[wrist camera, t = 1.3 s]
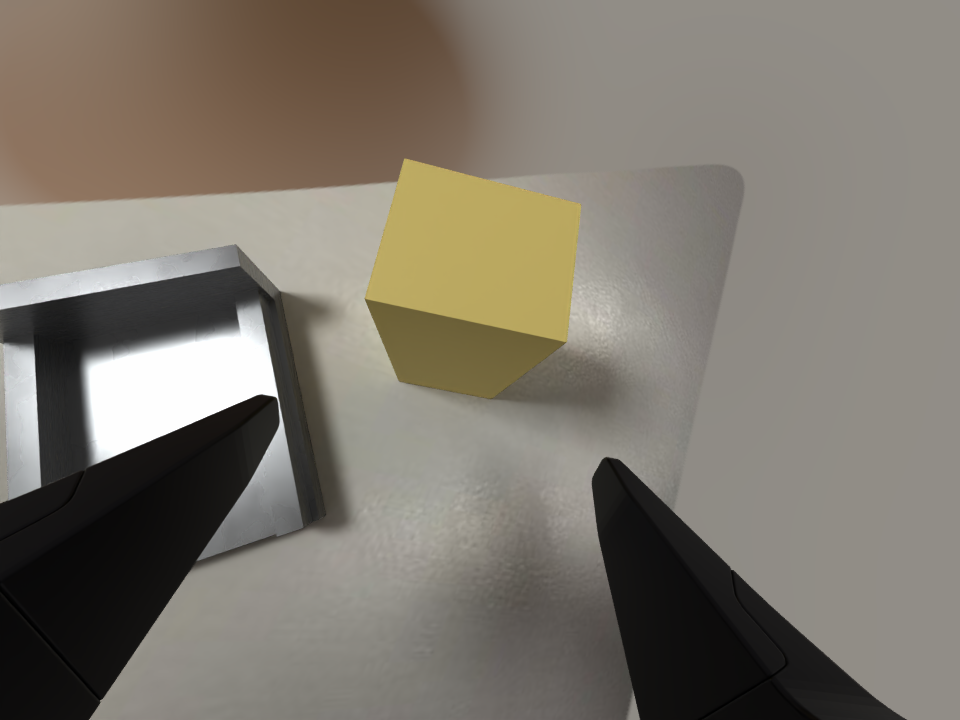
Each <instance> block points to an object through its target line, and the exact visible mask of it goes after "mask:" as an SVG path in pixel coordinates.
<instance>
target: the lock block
mask: <svg viewBox="0 0 960 720" xmlns="http://www.w3.org/2000/svg"><path fill="white" fill-rule="evenodd" d="M580 211H581V204H579V203H575V202H571V201H567V200H563V199H559V198H555V197H552V196H548V195H544V194H540V193H536V192H532V191H528V190H525V189H521V188H517V187H513V186H509V185H505V184H501V183H497V182H494V181H490V180H486V179H482V178H478V177H474V176H470V175H466V174H463V173H458V172H455V171H451V170H447V169H443V168H439V167H435V166H432V165H428V164H423V163H420V162H416V161H412V160H408V159H404V162H403V166H402V169H401V173H400V176H399V180H398V183H397V187H396V190H395V194H394V197H393V201H392V204H391V208H390V211H389V215H388V218H387V222H386V225H385V229H384V232H383V236H382V239H381V243H380V246H379V250H378V254H377V257H376V261H375V264H374V268H373V271H372V275H371V278H370V282H369V285H368V289H367V292H366V296H365V301H366V303H367V306H368V308H369V310H370V313H371V315H372V318H373V320H374V322H375V325H376V327H377V330H378V332H379V335H380V337H381V339H382V342H383V344H384V347H385V349H386V351H387V354H388V356H389V359H390V361H391V363H392V366H393V368H394V371H395V373H396V375H397V378H398V380H399V381H400V382H405V383H410V384H415V385H420V386H426V387H431V388H436V389H441V390H446V391H452V392H457V393H462V394H467V395H472V396H477V397H483V398H488V399H492V398H494V397H495V396H496V395H498V394H499V393H500V392H502V391H503V390H504V389H506V388H507V387H508V386H510V385H511V384H512V383H513V382H515V381H516V380H517V379H519V378H520V377H521V376H523V375H524V374H525V373H527V372H528V371H529V370H531V369H532V368H533V367H535V366H536V365H537V364H539V363H540V362H541V361H543V360H544V359H545V358H547V357H548V356H549V355H550V354H552V353H553V352H554V351H556V350H557V349H558V348H560V347H561V346H562V345H564V344H565V343H566V342H567V335H568V325H569V316H570V306H571V297H572V287H573V278H574V268H575V259H576V249H577V240H578V230H579V221H580Z"/></svg>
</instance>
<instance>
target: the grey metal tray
mask: <svg viewBox="0 0 960 720" xmlns="http://www.w3.org/2000/svg"><path fill="white" fill-rule="evenodd" d="M0 343H2V344H3V347H4V380H5V412H6V445H7V477H8V500H11V499H13V498H16V497H18V496H21V495H23V494H25V493H28V492H30V491H33V490H35V489H38V488H40V487H42V486H45V485H47V484H50V483H52V482H55V481H57V480H59V479H62V478H64V477H66V476H69V475H71V474H73V473H76V472H78V471H80V470H84V471H85V470H86V468H88V467H90V466H92V465H95V464H97V463H99V462H102V461H104V460H106V459H109V458H111V457H113V456H116V455H118V454H120V453H123V452H125V451H127V450H130V449H132V448H134V447H137V446H139V445H141V444H144V443H146V442H148V441H151V440H153V439H155V438H158V437H160V436H162V435H165V434H167V433H169V432H172V431H174V430H176V429H179V428H181V427H183V426H186V425H188V424H190V423H193V422H195V421H197V420H200V419H202V418H204V417H207V416H209V415H211V414H214V413H216V412H218V411H221V410H223V409H225V408H228V407H230V406H232V405H235V404H237V403H239V402H242V401H244V400H246V399H249V398H251V397H253V396H256V395H259V394H264V395H269V396H274V397H276V398H277V399H278V405H279V417H280V424H279V427H278V430H277V432H276V434H275V436H274V438H273V439H272V441H271V443H270V445H269V447H268V449H267V451H266V453H265V455H264V456H263V458H262V460H261V462H260V464H259V466H258V468H257V470H256V472H255V473H254V475H253V477H252V479H251V481H250V482H249V484H248V485H247V487H246V488H245V490H244V492H243V493H242V494H241V496H240V497H239V499H238V500H237V502H236V503H235V505H234V506H233V508H232V509H231V511H230V512H229V514H228V515H227V517H226V518H225V520H224V521H223V522H222V524H221V525H220V527H219V528H218V530H217V531H216V533H215V534H214V536H213V537H212V539H211V540H210V542H209V543H208V545H207V546H206V548H205V549H204V550H203V552H202V553H201V555H200V556H199V558H198V559H197V561H199V560H201V559H204V558H207V557H210V556H213V555H216V554H219V553H222V552H225V551H228V550H231V549H234V548H237V547H240V546H243V545H246V544H248V543H251V542H254V541H257V540H260V539H263V538H266V537H269V536H272V535H275V534H276V535H277V537H278V536H281V535H284V534H287V533H290V532H292V531H295V530H298V529H301V528H304V527H305V526H307V525H308V524H310V523H312V522H313V521H316V520H319V519H321V518H322V517H324V516H325V515H326V514H325V509H324V504H323V499H322V495H321V490H320V485H319V480H318V475H317V470H316V465H315V461H314V456H313V451H312V446H311V441H310V436H309V432H308V427H307V422H306V417H305V412H304V407H303V402H302V398H301V393H300V388H299V383H298V378H297V373H296V368H295V364H294V359H293V354H292V349H291V344H290V339H289V335H288V330H287V325H286V320H285V315H284V310H283V305H282V301H281V296H280V291H279V290H278V289H277V288H276V287H275V285H274V284H273V283H272V282H271V281H270V280H269V279H268V278H267V277H266V276H265V275H264V274H263V273H262V272H261V271H260V269H259V268H258V267H257V266H256V265H255V264H254V263H253V262H252V261H251V260H250V259H249V258H248V257H247V256H246V255H245V253H244V252H243V251H242V250H241V249H240V248H239V247H238V246H237V245H230V246H224V247H218V248H212V249H207V250H201V251H195V252H189V253H183V254H177V255H171V256H165V257H159V258H154V259H148V260H142V261H136V262H130V263H124V264H118V265H112V266H107V267H101V268H95V269H89V270H83V271H77V272H71V273H65V274H59V275H54V276H48V277H42V278H36V279H30V280H24V281H18V282H12V283H6V284H1V285H0Z"/></svg>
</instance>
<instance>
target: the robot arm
mask: <svg viewBox="0 0 960 720" xmlns="http://www.w3.org/2000/svg"><path fill="white" fill-rule="evenodd" d="M279 424H280V417H279V405H278V399H277V398H276V397H274V396H269V395H264V394H259V395H256V396H253V397H251V398H249V399H246V400H244V401H242V402H239V403H237V404H235V405H232V406H230V407H228V408H225V409H223V410H221V411H218V412H216V413H214V414H211V415H209V416H207V417H204V418H202V419H200V420H197V421H195V422H193V423H190V424H188V425H186V426H183V427H181V428H179V429H176V430H174V431H172V432H169V433H167V434H165V435H162V436H160V437H158V438H155V439H153V440H151V441H148V442H146V443H144V444H141V445H139V446H137V447H134V448H132V449H130V450H127V451H125V452H123V453H120V454H118V455H116V456H113V457H111V458H109V459H106V460H104V461H102V462H99V463H97V464H95V465H92V466H90V467H88V468H86V470H85V471H84V470H80V471H78V472H76V473H73V474H71V475H69V476H66V477H64V478H62V479H59V480H57V481H55V482H52V483H50V484H47V485H45V486H42V487H40V488H38V489H35V490H33V491H30V492H28V493H25V494H23V495H21V496H18V497H16V498H13V499H11V500H8V501H5V502H3V503H0V720H89V719H90V718H91V716H92V715H93V713H94V712H95V710H96V709H97V707H98V706H99V704H100V700H102V699H103V698H104V696H105V695H106V693H107V692H108V691H109V689H110V688H111V686H112V685H113V683H114V682H115V680H116V679H117V677H118V676H119V674H120V673H121V671H122V670H123V668H124V667H125V665H126V664H127V663H128V661H129V660H130V658H131V657H132V655H133V654H134V652H135V651H136V649H137V648H138V646H139V645H140V643H141V642H142V640H143V639H144V637H145V636H146V634H147V633H148V632H149V630H150V629H151V627H152V626H153V624H154V623H155V621H156V620H157V618H158V617H159V615H160V614H161V612H162V611H163V609H164V608H165V606H166V605H167V604H168V602H169V601H170V599H171V598H172V596H173V595H174V593H175V592H176V590H177V589H178V587H179V586H180V584H181V583H182V581H183V580H184V578H185V577H186V576H187V574H188V573H189V571H190V570H191V568H192V567H193V565H194V564H195V562H196V561H197V559H198V558H199V556H200V555H201V553H202V552H203V550H204V549H205V548H206V546H207V545H208V543H209V542H210V540H211V539H212V537H213V536H214V534H215V533H216V531H217V530H218V528H219V527H220V525H221V524H222V522H223V521H224V520H225V518H226V517H227V515H228V514H229V512H230V511H231V509H232V508H233V506H234V505H235V503H236V502H237V500H238V499H239V497H240V496H241V494H242V493H243V492H244V490H245V488H246V487H247V485H248V484H249V482H250V481H251V479H252V477H253V475H254V473H255V472H256V470H257V468H258V466H259V464H260V462H261V460H262V458H263V456H264V455H265V453H266V451H267V449H268V447H269V445H270V443H271V441H272V439H273V438H274V436H275V434H276V432H277V430H278V427H279ZM592 490H593V499H594V507H595V515H596V523H597V531H598V537H599V542H600V547H601V551H602V555H603V560H604V564H605V568H606V573H607V577H608V582H609V586H610V590H611V595H612V599H613V603H614V608H615V612H616V617H617V621H618V625H619V630H620V634H621V638H622V643H623V647H624V651H625V656H626V660H627V665H628V669H629V673H630V678H631V682H632V686H633V691H634V695H635V699H636V704H637V708H638V712H639V717H640V720H906V719H905V718H903V717H901V716H900V715H898V714H897V713H895V712H893V711H892V710H891V709H889V708H888V707H887V706H885V705H884V704H883V703H881V702H880V701H879V700H877V699H876V698H874V697H873V696H872V695H871V694H870V693H869V692H867V691H866V690H865V689H864V688H863V687H862V686H860V685H859V684H858V683H857V682H856V681H855V680H854V679H852V678H851V677H850V676H849V675H848V674H847V673H846V672H844V671H843V670H842V669H841V668H840V667H839V666H838V665H837V664H835V663H834V662H833V661H832V660H831V659H830V658H829V657H827V656H826V655H825V654H824V653H823V652H822V651H821V650H819V649H818V648H817V647H816V646H815V645H814V644H813V643H812V642H810V641H809V640H808V639H807V638H806V637H805V636H804V635H803V634H801V633H800V632H799V631H798V630H797V629H796V628H795V627H793V626H792V625H791V624H790V623H789V622H788V621H787V620H786V619H785V618H784V617H782V616H781V615H780V614H779V613H778V612H777V611H776V610H775V609H774V608H772V607H771V606H770V605H769V604H768V603H767V602H766V601H765V600H764V599H763V598H762V597H761V596H760V595H759V594H757V592H755V591H754V590H753V589H752V588H751V587H750V586H749V585H748V584H747V583H746V582H745V581H744V580H743V579H742V578H741V577H740V576H739V575H738V574H737V573H736V572H735V571H734V570H731V568H730V566H728V565H727V564H726V563H725V562H724V561H723V560H722V559H721V558H720V557H719V556H718V555H717V554H716V553H715V552H714V551H713V550H712V549H711V548H710V547H709V546H708V545H707V544H706V543H705V542H704V541H703V540H702V539H701V538H700V537H699V536H698V535H697V534H696V533H695V532H693V531H692V530H691V529H690V528H689V527H688V526H687V525H686V524H685V523H684V522H683V521H682V520H681V519H680V518H679V517H678V516H677V515H676V514H675V513H674V512H673V511H672V510H671V509H670V508H669V507H668V506H667V505H666V504H665V503H664V502H663V501H662V500H661V499H660V498H658V497H657V496H656V495H655V494H654V493H653V492H652V491H651V490H650V489H649V488H648V487H647V486H646V485H645V484H644V483H643V482H642V481H641V480H640V479H639V478H638V477H637V476H636V475H635V474H634V473H633V472H632V471H631V470H630V469H629V468H628V467H627V466H626V465H624V464H623V463H622V462H621V461H620V460H618V459H615V458H609V457H605V458H604V459H602V461H601V463H600V464H599V466H598V468H597V470H596V471H595V473H594V475H593V478H592Z"/></svg>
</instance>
